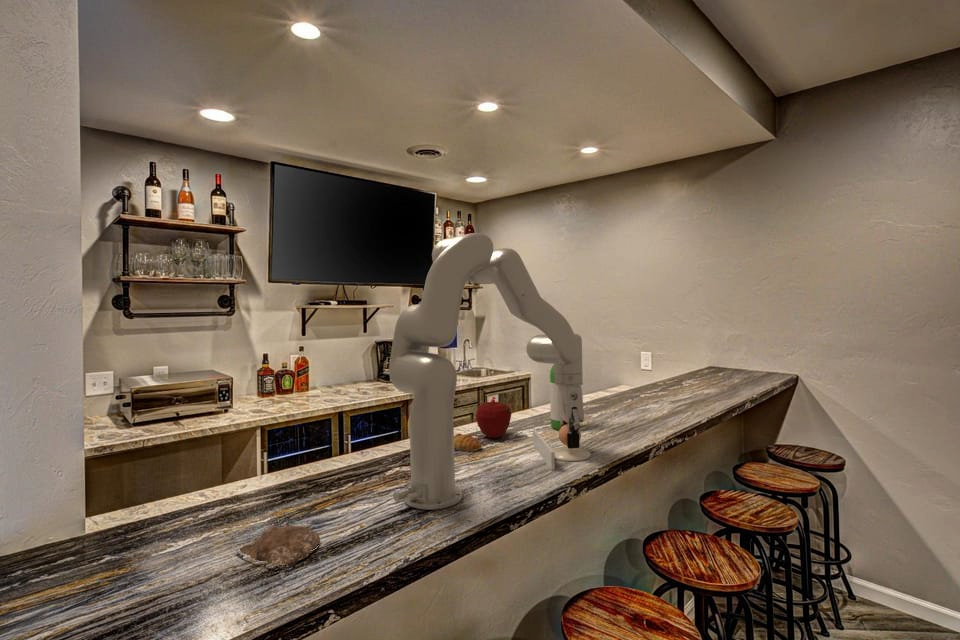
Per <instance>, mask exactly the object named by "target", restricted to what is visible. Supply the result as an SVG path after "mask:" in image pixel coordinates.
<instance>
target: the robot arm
mask: <svg viewBox="0 0 960 640" xmlns="http://www.w3.org/2000/svg"><path fill="white" fill-rule="evenodd" d="M431 257H432V259H431V260H432V264H431V266H430V268H429V271H428V272H427V275H426V279H425V283H424V287H423V293H422V297H421V301H420V304H412V305H410V306H409V305H408V306H407V307H406V308H404V310H402V312H401V313H400V314H399V316H398V318H397V320H396V323H395V327H394V332H393V338H392V343H391V344H392V345H391V352H390V359H389V365H388V372H389V373H388V375H389V379H390V382H391V384H392V385H393V387H395V388H396V389H397V390H399V391H400V392H404V393H406V394H411V395H413V399H412V403H411V406H410V410H409V419H408V421H409V423H408V425H409V427H408V429H409V449H410V450H409V453H410V454H409V455H410V456H409V457H410V458H409V459H410V480H407V481H406V483H407V485H406V486H405V487H404V489H400V490H398V491H395V492H393V493H392V498H393V500H394V502H396V503H397V502H401V501H404V503H405V504H406V505H408V506H409V507H411V508H414V509H416V510H417V509H419V510H425V511H426V510H430V511H431V510H432V511H433V510H439V509H440V510H442V509H446V508H449V507H452V506H455V505H457V504H458V503H459V502H461V501H462V499H463V490H462V488H461V487H459V486H458V485H456V472H455V471H456V470H455V467H456V466H455V465H456V464H455V463H456V462H455V448H454V436H455V433H454V432H455V431H454V424H455V423H454V405H455V404H454V403H455V395H456V389H457V381H458V376H457V375H458V373H457V370H456V367H455V365H454V364H453V362H452V361H451V360H450V359H449V358H448V357H445V356H444V355H441V354H438V353H432V352H431V353H430V352H429V350H430V348H444V347H448V346H450V345H451V344H452V343H453V342H454V340H455V339H456V337H457V336H456V335H457V332H458V326H459V325H458V324H459V318H460V310H461V305H462V298H463V293H464V288H465V286H466V284H467V282H470V283H474V284H479V285H491V284H493V285H495V288H497V290H498V292H499V294H500V296H501V297H502V299H503V301H504V303H505V304H506V307H507V308H508V310H509V312H510V313H511V315H512V316H514V317H515V318H517V319H519V320H521V321H523V322H524V323H527V324H530V325H531V326H533V327H536V328H537V329H538V330H539V331H541V332H542V333H543V334H537V335H534V336H532V337H531V338H530V339H529V340H528V342H527V343H526V346H525V347H526V349H525V350H526V353H527V355H528V356H527V357H529V359H530V360H532V361H534V362H536V363H541V364H551V365H554V371H555V385H558V389H557V390H558V394H557V406H558V415H559V416H560V419H561V421H560V426H561V427H562V426H564V425H566V424H567V426H568V433H567V446H566V447H568V448H569V449H571V448H580V441H579V430H580V426H581V423H583V422H584V421H585V413H584V400H583V399H584V397H583V390H582V386H583V385H584V384H583V383H584V381H583V379H584V378H583V339H582V336H581V334H578V333H574V331H573V328H572V327H571V325H570V322H569V321H568V320H567V319H566V317H565V316H563V314H561V313H560V312H559V311H558V310H557V309H556V308H555V307H554V306H552V305H551V304H550V303H548V301H546V300H545V299H543V298H542V296H541V295H540V293H539V291H538V289H537V287H536V285H535V284H534V281H533V279H532V278H531V275H530V272H529V271H528V269H527V268H526V265H525V262H524V261H523V259H522V257H521V255H520V254H519V253H518V252H517V251H516V250H514V249H512V248H507V247H506V248H504V247H502V248H494V243H493V241H492V239H491V238H490V237H489V235H486V234H484V233H481V232H473V233H471V232H470V233H466V234H461V235H457V236H452V237H448V238H444V239H441V240H440V241H438V242H437V243H436V244H435V245H434V247H433V249H432V252H431ZM571 420H573V422H571ZM570 424H573V425H572V427H571V425H570ZM561 427H560V429H561Z"/></svg>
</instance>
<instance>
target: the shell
mask: <svg viewBox="0 0 960 640" xmlns="http://www.w3.org/2000/svg"><path fill="white" fill-rule="evenodd" d="M319 543H320V544H321V538H320V535H319V534H318V532H317V531H314V530H313V529H311V528H308V527H306V526H301V525H286V526H285V525H284V526H269V527H268V528H267V529H265V530H264V531H263V533H262V534H261V536H260V537H258V538H257V539H255V540H253V541H252V542H251V543H249V544H246V545H243V546H241V547H242V548H241V547H239V548H240V551H241V552H242V553H244V554H247V555H250V556H251V557H252V558H254V559H255V560H259V561H267V562H270V563H272V564H275V565H276V564H277V565H282V566H283V565H285V564H288V563H291V562H294V561H296V560H298V559H300V558H302V557H304V556H306V555H307V554H309V552H310V551H311V550H313V549H315V548H316V547H317V546H318V545H319V546H320V544H319ZM309 555H310V554H309Z"/></svg>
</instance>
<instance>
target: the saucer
mask: <svg viewBox="0 0 960 640" xmlns="http://www.w3.org/2000/svg"><path fill="white" fill-rule="evenodd" d="M551 449H552V450H553V451H554V458H555V460H557V461H560V462H571V463H572V462H584V461H586V459H587V460H588V458H589V457H591V452H590V451H588V449H587V450H586V449H584V448H580V447H579V448H571V449H569V448H568V447H567V446H562V447H561V446H560V447H556V448H551ZM589 459H590V458H589Z"/></svg>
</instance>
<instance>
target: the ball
mask: <svg viewBox="0 0 960 640" xmlns="http://www.w3.org/2000/svg"><path fill="white" fill-rule="evenodd" d="M570 425H571V427H572V425H573V424H570ZM567 433H568V426H567V424H566V425H564V426H562V427H561V429H560V430H558V439H559V441H560V443H562V444H563V445H564V446H565V447H567ZM581 437H582V434H581V430H580V429H579V442H580V441H581Z"/></svg>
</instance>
